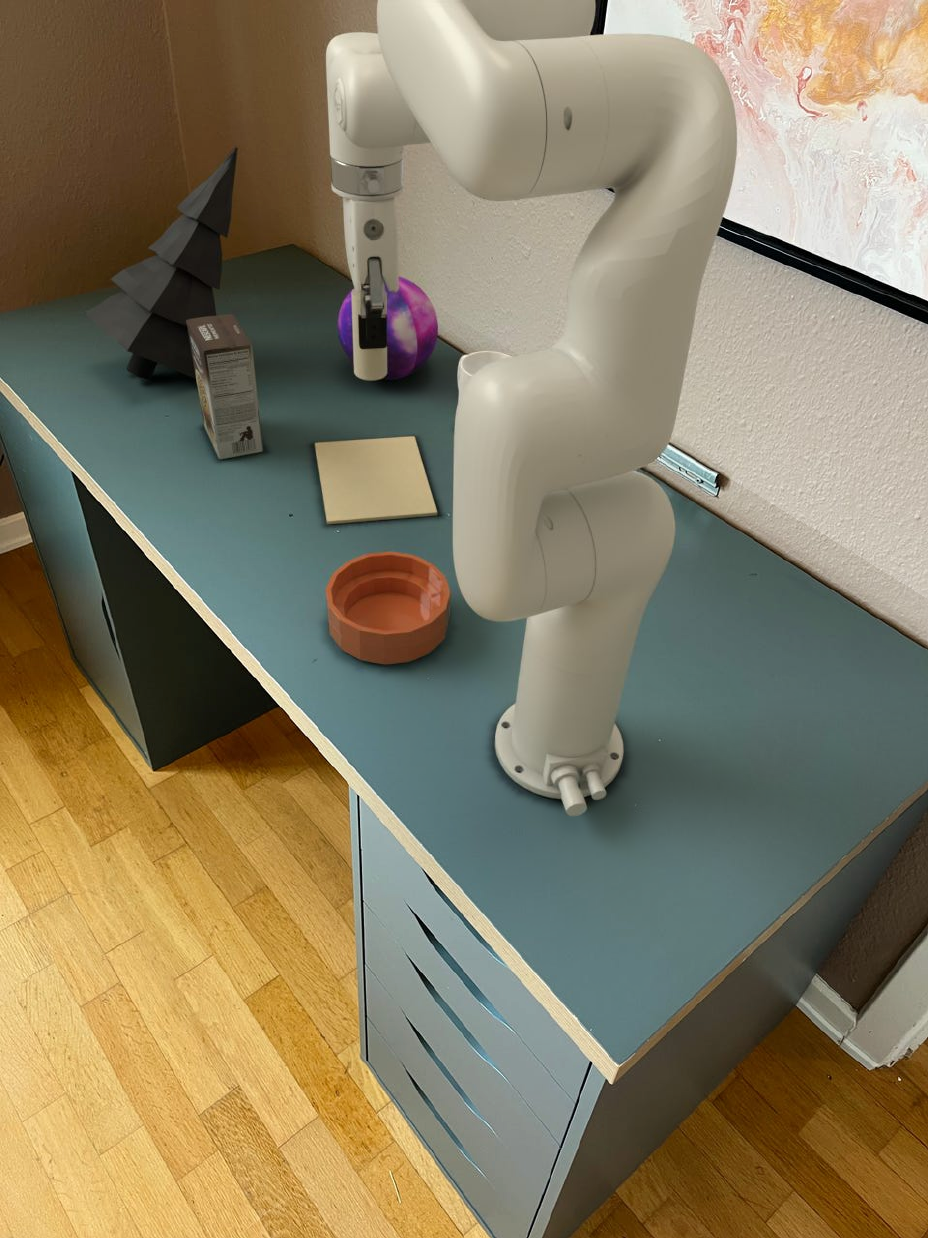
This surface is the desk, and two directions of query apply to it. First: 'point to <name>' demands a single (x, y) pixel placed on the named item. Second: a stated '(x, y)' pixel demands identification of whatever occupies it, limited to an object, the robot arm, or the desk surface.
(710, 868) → the desk surface
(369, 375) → the cream cylinder
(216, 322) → the coffee box
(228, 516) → the desk surface
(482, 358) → the cup
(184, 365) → the decorative tree
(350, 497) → the mat
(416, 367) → the decorative orb
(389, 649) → the bowl
